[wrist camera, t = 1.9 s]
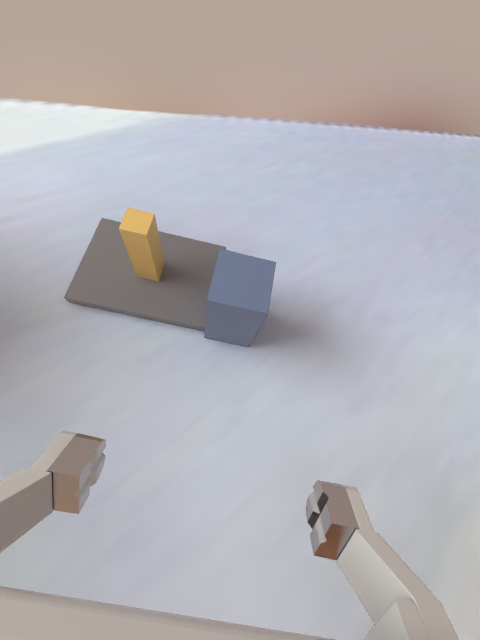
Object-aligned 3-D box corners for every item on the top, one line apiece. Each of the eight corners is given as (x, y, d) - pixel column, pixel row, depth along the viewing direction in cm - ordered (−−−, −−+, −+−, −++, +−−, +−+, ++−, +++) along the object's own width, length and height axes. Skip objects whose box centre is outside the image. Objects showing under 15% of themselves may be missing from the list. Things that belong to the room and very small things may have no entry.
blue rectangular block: (255, 307, 31) (275, 262, 23) (248, 347, 29) (268, 313, 21) (214, 298, 31) (219, 249, 22) (204, 337, 29) (206, 300, 21)
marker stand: (225, 252, 33) (233, 196, 25) (206, 331, 29) (208, 294, 21) (104, 224, 32) (74, 157, 24) (68, 301, 28) (18, 251, 20)
